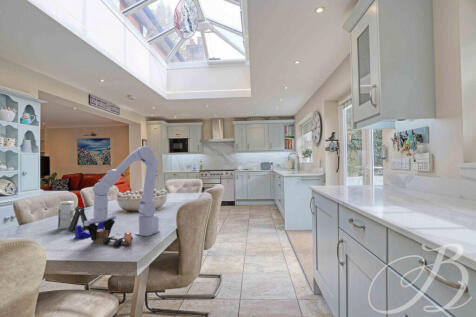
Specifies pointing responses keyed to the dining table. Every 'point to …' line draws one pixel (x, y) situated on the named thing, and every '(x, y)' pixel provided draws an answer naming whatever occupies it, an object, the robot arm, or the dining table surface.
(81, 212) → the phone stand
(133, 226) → the dining table surface
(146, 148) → the robot arm
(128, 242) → the pin
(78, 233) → the cable clip
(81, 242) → the dining table surface
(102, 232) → the block
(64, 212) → the syrup box
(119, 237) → the dolly
